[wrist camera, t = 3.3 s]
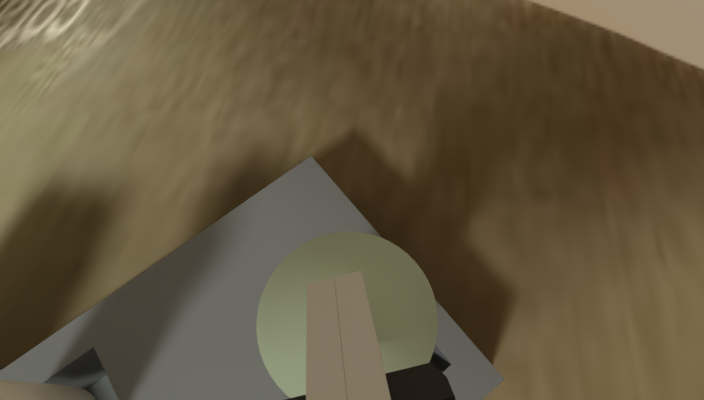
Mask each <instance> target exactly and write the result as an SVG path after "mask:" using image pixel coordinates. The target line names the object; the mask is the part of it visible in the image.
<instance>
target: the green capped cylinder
mask: <svg viewBox="0 0 704 400" xmlns="http://www.w3.org/2000/svg"><path fill="white" fill-rule="evenodd" d="M357 271H361V272H362V276H363V280H364V285H365V289H366V293H367V297H368V301H369V305H370V310H371V314H372V318H373V322H374V326H375V331H376V335H377V339H378V343H379V347H380V352H381V356H382V360H383V364H384V369H385V373H389V372H394V371H398V370H402V369H406V368H410V367H414V366H418V365H422V364H426V363H429V362H430V359H431V357H432V354H433V352H434V348H435V344H436V340H437V331H438V313H437V306H436V301H435V297H434V294H433V291H432V288H431V286H430V284H429V281H428V279H427V278H426V276H425V274H424V273H423V271H422V269H421V268H420V267H419V266H418V264H417V263H416V262H415V261H414V260H413V259H412V258H411V257H410V256H409V255H408V254H407V253H406V252H405V251H403V250H402V249H401V248H400V247H398V246H397V245H395V244H393V243H391V242H390V241H388V240H385V239H383V238H381V237H378V236H375V235H371V234H368V233H361V232H336V233H331V234H326V235H323V236H320V237H317V238H314V239H312V240H310V241H308V242H306V243H304V244H303V245H301V246H300V247H298V248H296V249H295V250H294V251H293V252H291V253H290V254H289V255H288V256H287V257H286V258H285V259H284V260H283V261H282V262H281V263H280V264H279V265H278V266H277V268H276V269H275V270H274V272H273V273H272V275H271V276H270V278H269V280H268V282H267V283H266V286H265V288H264V290H263V293H262V295H261V299H260V302H259V306H258V312H257V323H256V332H257V341H258V346H259V350H260V354H261V357H262V360H263V362H264V365H265V367H266V369H267V370H268V372H269V374H270V376H271V377H272V379H273V380H274V381H275V383H276V384H277V386H278V387H279V388H280V389H281V390H282V391H283V392H284V393H285V394H286V395H287V396H288V397H290V398H293V397H297V396H302V395H306V334H307V283H311V282H315V281H320V280H324V279H328V278H332V277H336V276H340V275H345V274H349V273H353V272H357Z"/></svg>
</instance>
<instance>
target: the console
mask: <svg viewBox="0 0 704 400" xmlns="http://www.w3.org/2000/svg"><path fill="white" fill-rule="evenodd" d="M336 232H361V233H368V234H371V235H375V236H378V237H381V236H380V235H379V233H378V232H377V231H376V230H375V229H374V228H373V227H372V225H371V224H370V223H369V222H368V221H367V220H366V218H365V217H364V216H363V215H362V214H361V213H360V212H359V210H358V209H357V208H356V207H355V206H354V205H353V203H352V202H351V201H350V200H349V199H348V198H347V197H346V195H345V194H344V193H343V192H342V191H341V190H340V188H339V187H338V186H337V185H336V184H335V183H334V181H333V180H332V179H331V178H330V177H329V176H328V175H327V173H326V172H325V171H324V170H323V169H322V168H321V166H320V165H319V164H318V163H317V162H316V161H315V160H314V158H313V157H312V156H310V157H308V158H307V159H306V160H304V161H303V162H301V163H300V164H298V165H297V166H295V167H294V168H293V169H291V170H290V171H288V172H287V173H285V174H284V175H282V176H281V177H280V178H278V179H277V180H275V181H274V182H272V183H271V184H269V185H268V186H267V187H265V188H264V189H262V190H261V191H259V192H258V193H256V194H255V195H254V196H252V197H251V198H249V199H248V200H246V201H245V202H243V203H242V204H241V205H239V206H238V207H236V208H235V209H233V210H232V211H230V212H229V213H228V214H226V215H225V216H223V217H222V218H220V219H219V220H217V221H216V222H215V223H213V224H212V225H210V226H209V227H207V228H206V229H204V230H203V231H202V232H200V233H199V234H197V235H196V236H194V237H193V238H191V239H190V240H189V241H187V242H186V243H184V244H183V245H181V246H180V247H178V248H177V249H176V250H174V251H173V252H171V253H170V254H168V255H167V256H165V257H164V258H163V259H161V260H160V261H158V262H157V263H155V264H154V265H152V266H151V267H150V268H148V269H147V270H145V271H144V272H142V273H141V274H139V275H138V276H137V277H135V278H134V279H132V280H131V281H129V282H128V283H126V284H125V285H124V286H122V287H121V288H119V289H118V290H116V291H115V292H113V293H112V294H111V295H109V296H108V297H106V298H105V299H103V300H102V301H100V302H99V303H98V304H96V305H95V306H93V307H92V308H90V309H89V310H87V311H86V312H85V313H83V314H82V315H80V316H79V317H77V318H76V319H74V320H73V321H72V322H70V323H69V324H67V325H66V326H64V327H63V328H61V329H60V330H59V331H57V332H56V333H54V334H53V335H51V336H50V337H48V338H47V339H46V340H44V341H43V342H41V343H40V344H38V345H37V346H35V347H34V348H33V349H31V350H30V351H28V352H27V353H25V354H24V355H22V356H21V357H20V358H18V359H17V360H15V361H14V362H12V363H11V364H9V365H8V366H7V367H5V368H4V369H2V370H1V371H0V380H11V381H22V382H34V383H46V384H58V385H70V386H77V387H81V388H83V389H85V390H87V391H88V392H90V393H91V394H92V395H93V396H94V397H95V399H96V400H285V399H289V398H290V397H288V396H287V395H286V394H285V393H284V392H283V391H282V390H281V389H280V388H279V387H278V386H277V384H276V383H275V381H274V380H273V379H272V377H271V376H270V374H269V372H268V370H267V369H266V367H265V365H264V362H263V360H262V357H261V354H260V350H259V346H258V341H257V332H256V323H257V312H258V306H259V302H260V299H261V295H262V293H263V290H264V288H265V286H266V283H267V282H268V280H269V278H270V276H271V275H272V273H273V272H274V270H275V269H276V268H277V266H278V265H279V264H280V263H281V262H282V261H283V260H284V259H285V258H286V257H287V256H288V255H289V254H290V253H291V252H293V251H294V250H295V249H296V248H298V247H300V246H301V245H303V244H304V243H306V242H308V241H310V240H312V239H314V238H317V237H320V236H323V235H326V234H331V233H336ZM381 238H382V237H381ZM435 301H436V306H437V313H438V331H437V340H436V344H435V348H434V352H433V354H432V357H431V359H430V362H429V363H431V364H433V365H434V366H435V367H436V368H437V369H438V370H439V371H441V372H442V373H443V374H444V375H445V376H446V377H447V379H448V381H449V384H450V386H451V388H452V391H453V393H454V396H455V399H456V400H482V399H483V398H484V397H485V396H486V395H488V394H489V393H490V392H491V391H492V390H493V389H494V388H495V387H496V386H498V385H499V384H500V383H501V382H502V381H503V380H504V378H503V377H502V376H501V374H500V373H499V372H498V371H497V370H496V369H495V367H494V366H493V365H492V364H491V363H490V362H489V361H488V359H487V358H486V357H485V356H484V355H483V354H482V352H481V351H480V350H479V349H478V348H477V347H476V346H475V344H474V343H473V342H472V341H471V340H470V339H469V337H468V336H467V335H466V334H465V333H464V332H463V331H462V329H461V328H460V327H459V326H458V325H457V324H456V322H455V321H454V320H453V319H452V318H451V317H450V316H449V314H448V313H447V312H446V311H445V310H444V309H443V307H442V306H441V305H440V304H439V303H438V302H437V300H436V299H435Z"/></svg>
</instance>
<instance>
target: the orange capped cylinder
mask: <svg viewBox="0 0 704 400" xmlns="http://www.w3.org/2000/svg"><path fill="white" fill-rule="evenodd" d="M0 400H96V399H95V397H94V396H93V395H92V394H91V393H90V392H88V391H87V390H85V389H83V388H81V387H77V386H70V385H58V384H46V383H34V382H22V381H11V380H0Z"/></svg>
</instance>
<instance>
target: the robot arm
mask: <svg viewBox="0 0 704 400" xmlns="http://www.w3.org/2000/svg"><path fill="white" fill-rule="evenodd" d="M285 400H456V399H455V396H454V393H453V391H452V388H451V386H450V384H449V381H448V379H447V377H446V376H445V375H444V374H443V373H442V372H441V371H439V370H438V369H437V368H436V367H435V366H434V365H433V364H431V363H426V364H422V365H418V366H414V367H410V368H406V369H402V370H398V371H394V372H389V373H385V369H384V364H383V360H382V356H381V352H380V347H379V343H378V339H377V335H376V331H375V326H374V322H373V318H372V314H371V310H370V305H369V301H368V297H367V293H366V289H365V285H364V280H363V276H362V272H361V271H357V272H353V273H349V274H345V275H340V276H336V277H332V278H328V279H324V280H320V281H315V282H311V283H307V334H306V395H302V396H297V397H293V398H289V399H285Z"/></svg>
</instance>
